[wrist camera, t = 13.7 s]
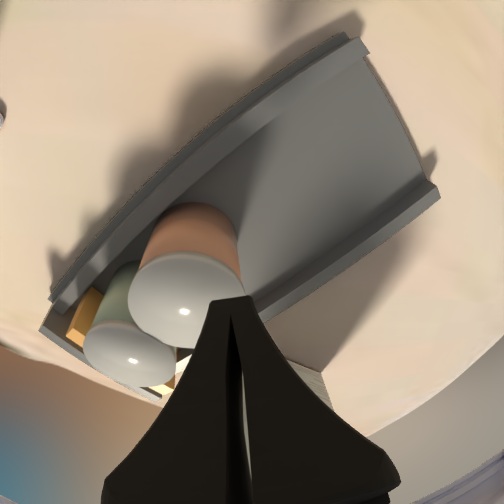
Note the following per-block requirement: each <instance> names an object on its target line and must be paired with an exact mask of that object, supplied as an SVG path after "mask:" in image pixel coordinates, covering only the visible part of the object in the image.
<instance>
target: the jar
mask: <svg viewBox="0 0 504 504" xmlns="http://www.w3.org/2000/svg"><path fill="white" fill-rule="evenodd" d="M240 296H246V295H245V289H244V286H243V284H242V281H241V273H240V264H239V256H238V247H237V238H236V232H235V229H234V226H233V224H232V222H231V221H230V219H229V218H228V217H227V216H226V215H225V214H224V213H223V212H222V211H220V210H219V209H217V208H216V207H214V206H212V205H209V204H206V203H201V202H185V203H180V204H177V205H175V206H172V207H171V208H169V209H167V210H166V211H165V212H164V213H163V214H162V215H161V216H160V217H159V218H158V220H157V221H156V223H155V225H154V228H153V230H152V233H151V236H150V238H149V241H148V244H147V247H146V249H145V252H144V255H143V258H142V261H141V264H140V266H139V269H138V271H137V273H136V274H135V276H134V278H133V280H132V283H131V286H130V289H129V293H128V307H129V311H130V313H131V316H132V318H133V319H134V321H135V323H136V324H137V325H138V326H139V327H140V328H141V329H142V330H143V331H144V332H145V333H146V334H148V335H149V336H151V337H152V338H154V339H156V340H158V341H160V342H162V343H165V344H167V345H171V346H175V347H181V348H195V346H196V343H197V341H198V338H199V335H200V333H201V330H202V327H203V324H204V321H205V318H206V315H207V311H208V307H209V303H210V302H211V301H212V300H219V299H226V298H233V297H240Z"/></svg>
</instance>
